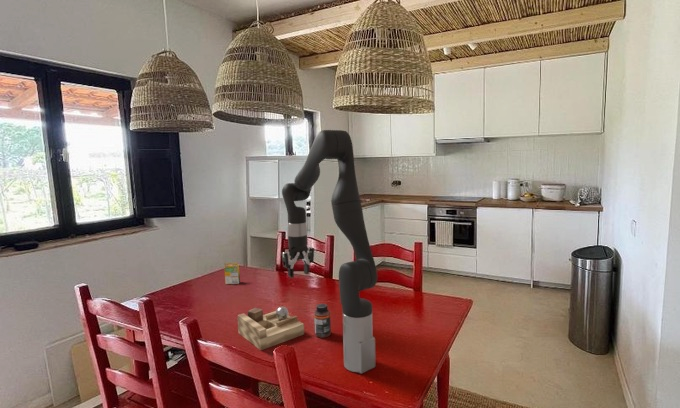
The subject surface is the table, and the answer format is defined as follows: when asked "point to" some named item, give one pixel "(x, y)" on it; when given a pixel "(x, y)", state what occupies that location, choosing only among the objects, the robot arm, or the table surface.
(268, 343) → the wooden stepped tray
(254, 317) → the walnut cube
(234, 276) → the crayon box
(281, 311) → the ball
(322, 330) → the supplement bottle
